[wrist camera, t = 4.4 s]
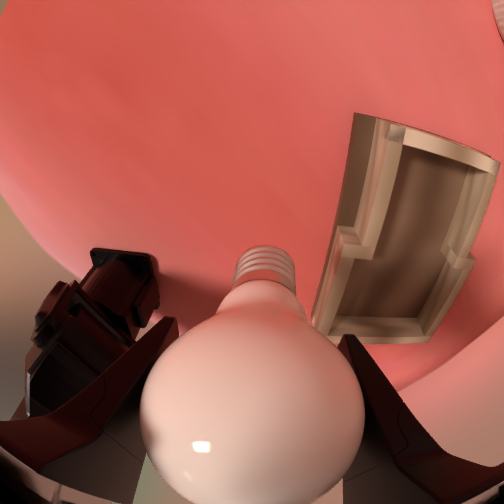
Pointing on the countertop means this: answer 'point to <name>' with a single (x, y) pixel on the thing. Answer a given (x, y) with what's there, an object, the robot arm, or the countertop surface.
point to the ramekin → (499, 15)
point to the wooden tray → (401, 233)
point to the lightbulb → (253, 398)
